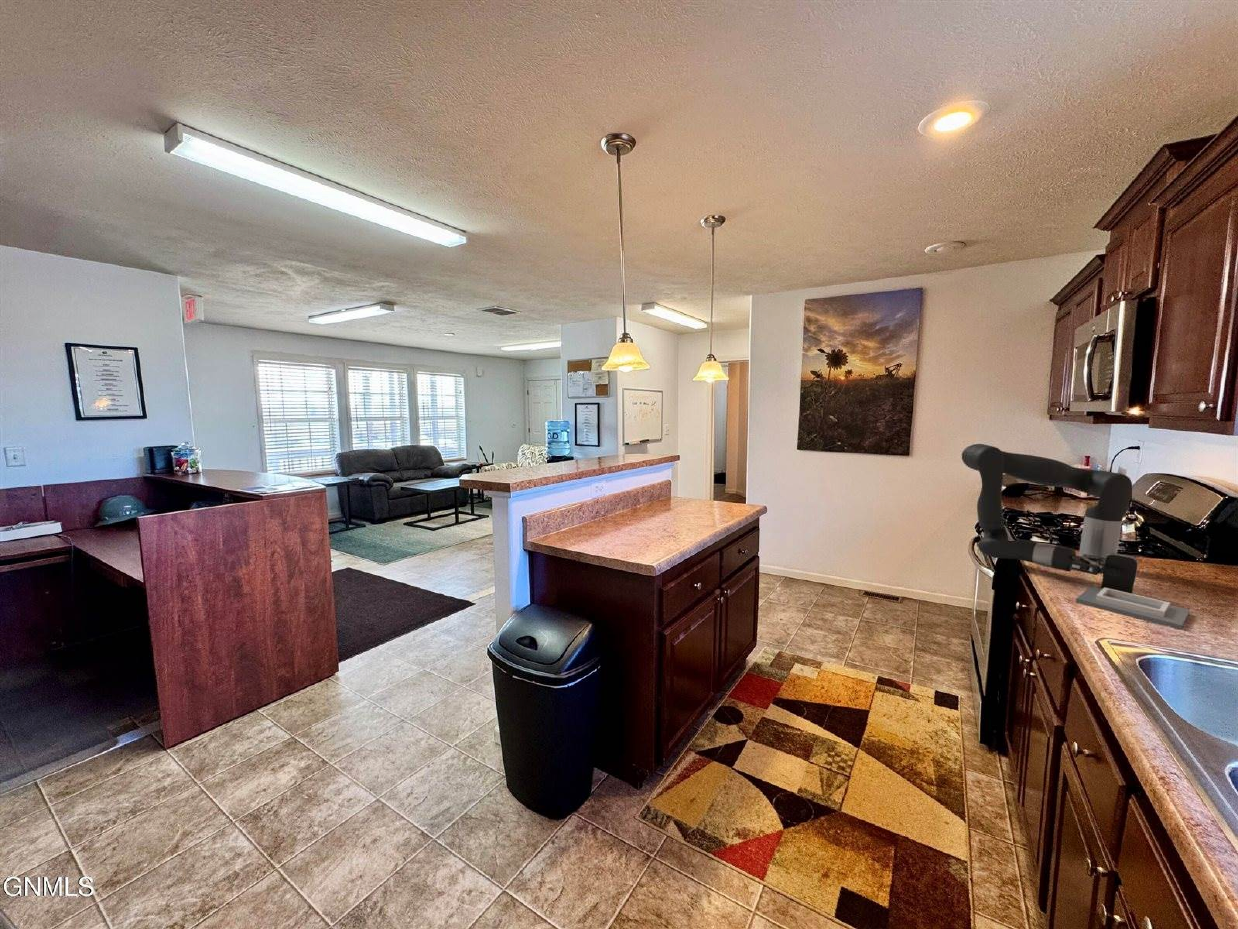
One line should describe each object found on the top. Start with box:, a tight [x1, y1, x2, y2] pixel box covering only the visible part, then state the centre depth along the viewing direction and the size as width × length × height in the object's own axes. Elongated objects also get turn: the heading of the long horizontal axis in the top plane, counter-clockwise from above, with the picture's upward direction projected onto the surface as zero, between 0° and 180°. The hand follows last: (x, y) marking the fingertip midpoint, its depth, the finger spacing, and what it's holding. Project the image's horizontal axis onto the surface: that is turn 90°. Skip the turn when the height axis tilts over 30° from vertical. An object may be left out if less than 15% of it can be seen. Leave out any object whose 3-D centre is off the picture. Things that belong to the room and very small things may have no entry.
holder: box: [1075, 585, 1191, 630], centre depth 136 cm, size 16×20×3 cm
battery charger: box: [1100, 553, 1139, 594], centre depth 148 cm, size 7×4×11 cm, turn 40°
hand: (1123, 571), depth 147 cm, fingers open, 8 cm apart
